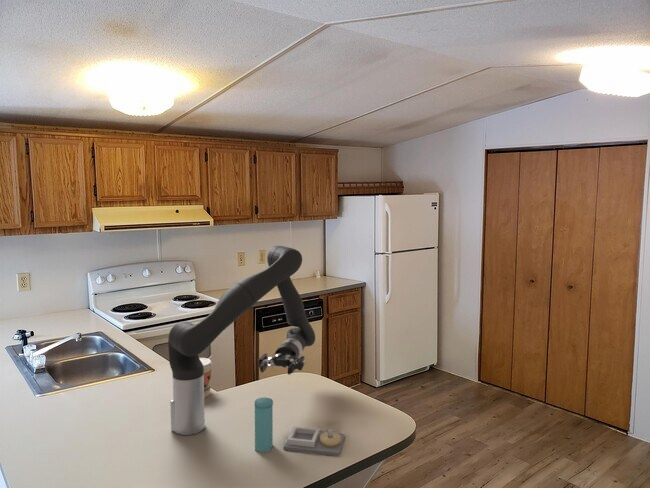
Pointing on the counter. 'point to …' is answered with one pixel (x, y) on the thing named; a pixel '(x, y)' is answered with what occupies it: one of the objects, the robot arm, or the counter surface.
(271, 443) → the lidded tumbler
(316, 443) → the housing
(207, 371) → the coffee cup
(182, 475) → the counter surface
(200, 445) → the counter surface
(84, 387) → the counter surface
